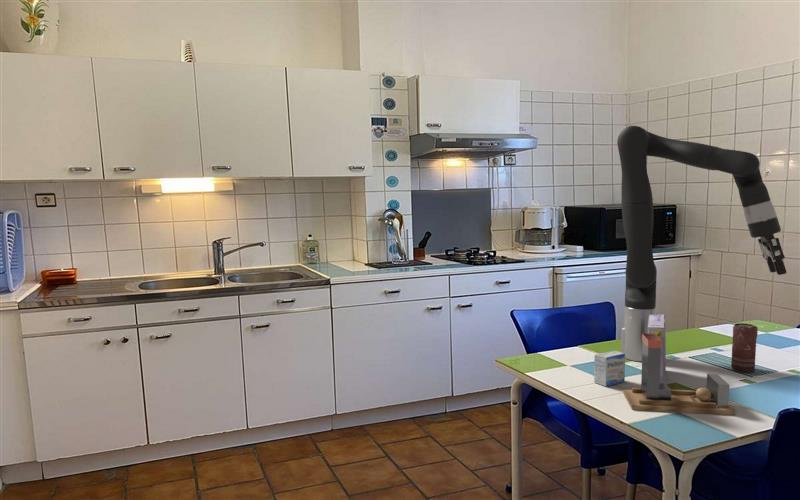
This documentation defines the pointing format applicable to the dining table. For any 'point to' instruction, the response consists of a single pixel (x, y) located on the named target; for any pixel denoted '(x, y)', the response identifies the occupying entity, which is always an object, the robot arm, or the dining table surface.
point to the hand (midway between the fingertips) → (778, 273)
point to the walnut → (703, 394)
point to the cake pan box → (658, 328)
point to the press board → (675, 403)
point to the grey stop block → (718, 390)
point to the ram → (652, 369)
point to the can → (744, 347)
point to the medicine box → (609, 368)
